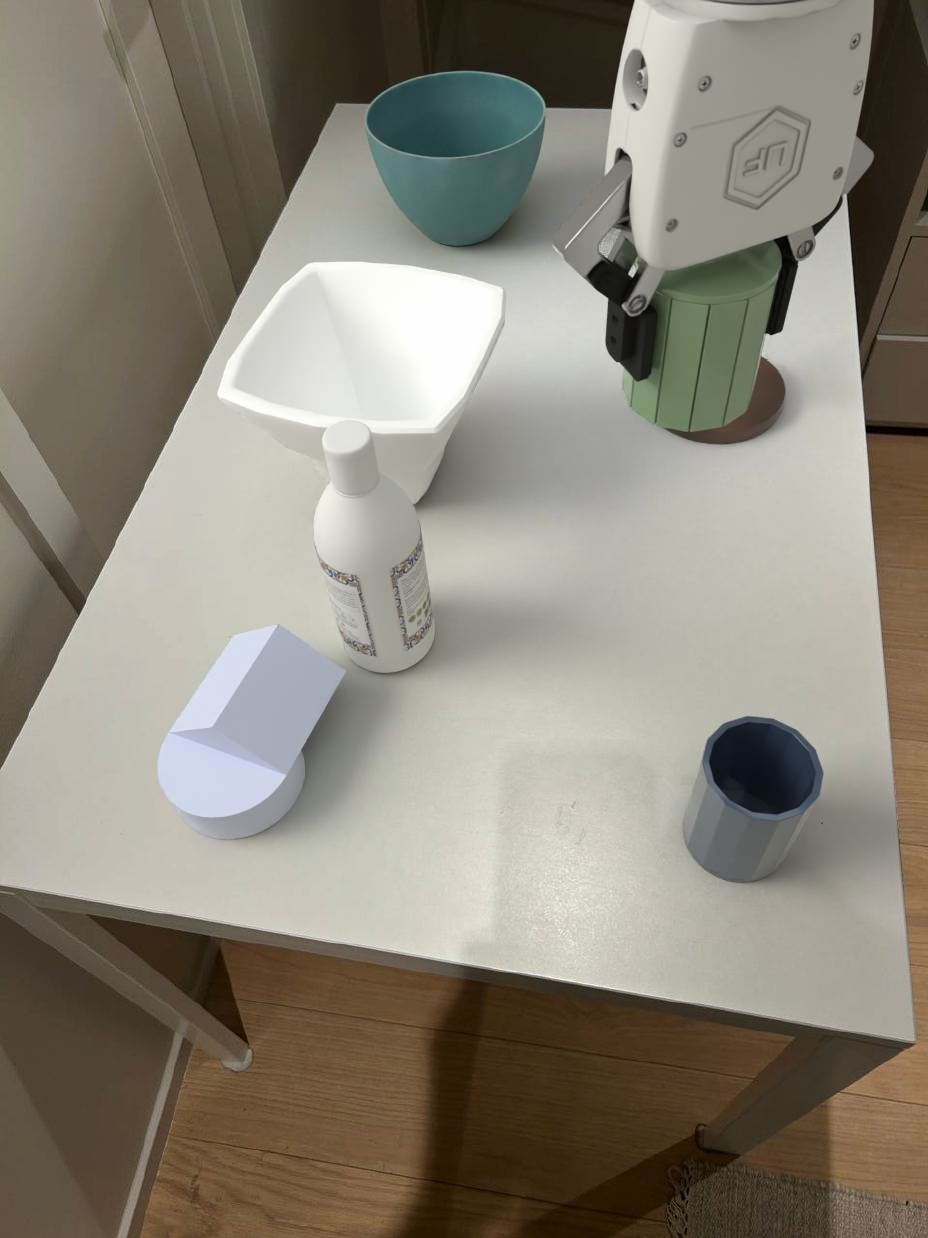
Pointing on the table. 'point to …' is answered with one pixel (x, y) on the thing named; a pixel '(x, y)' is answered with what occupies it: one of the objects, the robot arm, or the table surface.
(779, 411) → the disc
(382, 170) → the plant pot
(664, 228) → the robot arm
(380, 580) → the bath foam
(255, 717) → the wedge on round base
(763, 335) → the green cup
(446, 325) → the bowl
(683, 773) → the table surface
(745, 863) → the blue cup
